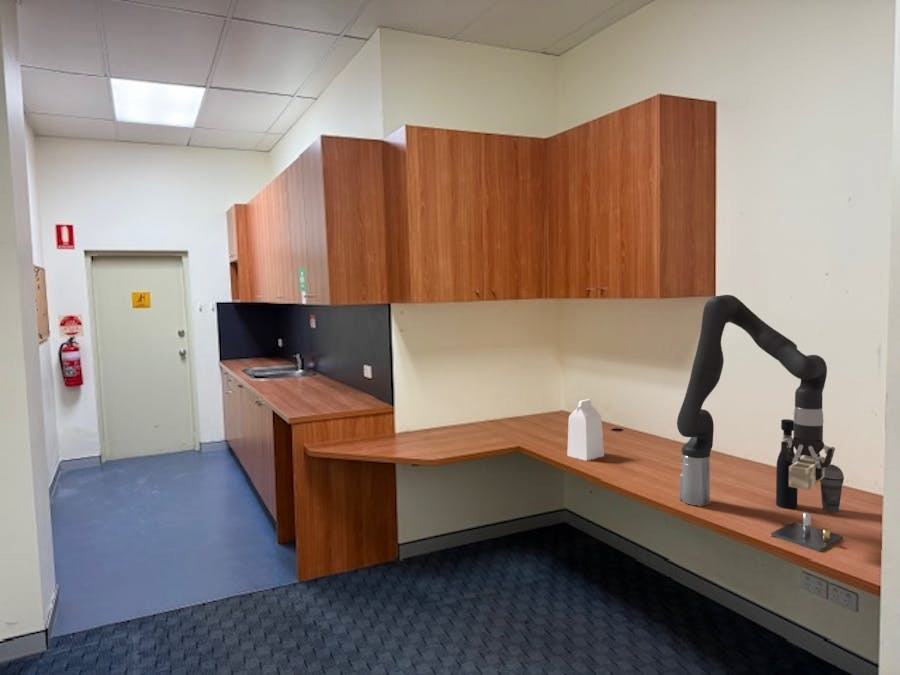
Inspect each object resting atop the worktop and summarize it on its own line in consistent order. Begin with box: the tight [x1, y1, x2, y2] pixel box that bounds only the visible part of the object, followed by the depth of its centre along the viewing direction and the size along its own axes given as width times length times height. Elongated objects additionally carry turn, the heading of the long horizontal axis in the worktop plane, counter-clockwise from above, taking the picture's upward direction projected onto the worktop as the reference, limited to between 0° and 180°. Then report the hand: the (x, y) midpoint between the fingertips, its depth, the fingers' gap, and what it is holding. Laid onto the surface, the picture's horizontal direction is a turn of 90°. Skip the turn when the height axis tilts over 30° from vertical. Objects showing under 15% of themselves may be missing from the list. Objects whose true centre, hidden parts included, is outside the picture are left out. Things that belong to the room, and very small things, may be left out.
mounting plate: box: [770, 511, 844, 553], centre depth 180 cm, size 14×14×8 cm
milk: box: [566, 398, 605, 462], centre depth 274 cm, size 12×12×26 cm
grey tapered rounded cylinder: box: [819, 464, 845, 513], centre depth 201 cm, size 7×7×20 cm
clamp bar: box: [789, 455, 826, 491], centre depth 179 cm, size 17×5×6 cm, turn 134°
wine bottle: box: [775, 419, 799, 510], centre depth 205 cm, size 6×6×30 cm
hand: (807, 477), depth 179 cm, fingers closed on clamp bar, 5 cm apart
